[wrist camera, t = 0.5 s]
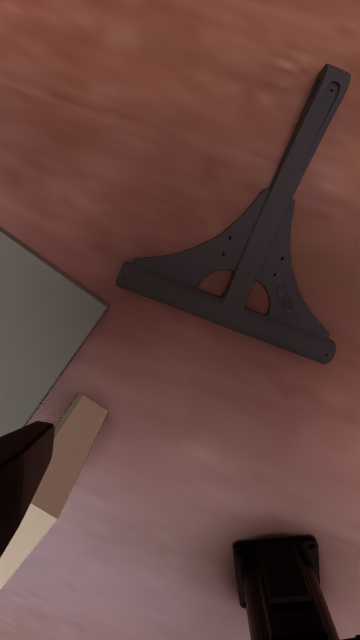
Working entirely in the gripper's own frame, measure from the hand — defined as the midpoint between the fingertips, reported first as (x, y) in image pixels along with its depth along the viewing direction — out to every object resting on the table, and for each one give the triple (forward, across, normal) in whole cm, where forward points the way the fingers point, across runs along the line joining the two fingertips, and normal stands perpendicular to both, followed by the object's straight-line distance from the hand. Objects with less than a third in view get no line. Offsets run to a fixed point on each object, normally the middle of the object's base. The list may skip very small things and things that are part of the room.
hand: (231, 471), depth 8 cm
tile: (+14, +8, +10) cm, 19 cm away
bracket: (+14, -2, -8) cm, 16 cm away
